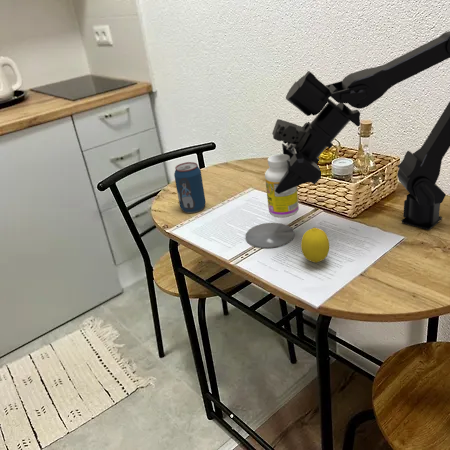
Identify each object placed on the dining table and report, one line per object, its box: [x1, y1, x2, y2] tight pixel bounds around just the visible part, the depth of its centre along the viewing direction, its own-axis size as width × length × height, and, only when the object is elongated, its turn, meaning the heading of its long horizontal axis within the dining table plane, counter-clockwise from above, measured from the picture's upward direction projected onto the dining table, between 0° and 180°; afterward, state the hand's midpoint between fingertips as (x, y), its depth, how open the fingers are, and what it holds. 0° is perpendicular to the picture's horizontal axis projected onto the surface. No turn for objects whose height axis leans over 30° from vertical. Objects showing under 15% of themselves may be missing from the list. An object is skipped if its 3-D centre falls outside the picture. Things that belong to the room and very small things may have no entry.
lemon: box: [300, 227, 330, 264], centre depth 94 cm, size 6×6×8 cm
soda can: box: [173, 161, 206, 214], centre depth 123 cm, size 7×7×12 cm
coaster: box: [245, 222, 295, 249], centre depth 107 cm, size 11×11×1 cm
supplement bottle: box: [264, 153, 300, 219], centre depth 102 cm, size 7×7×13 cm
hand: (275, 185), depth 102 cm, fingers closed on supplement bottle, 7 cm apart
